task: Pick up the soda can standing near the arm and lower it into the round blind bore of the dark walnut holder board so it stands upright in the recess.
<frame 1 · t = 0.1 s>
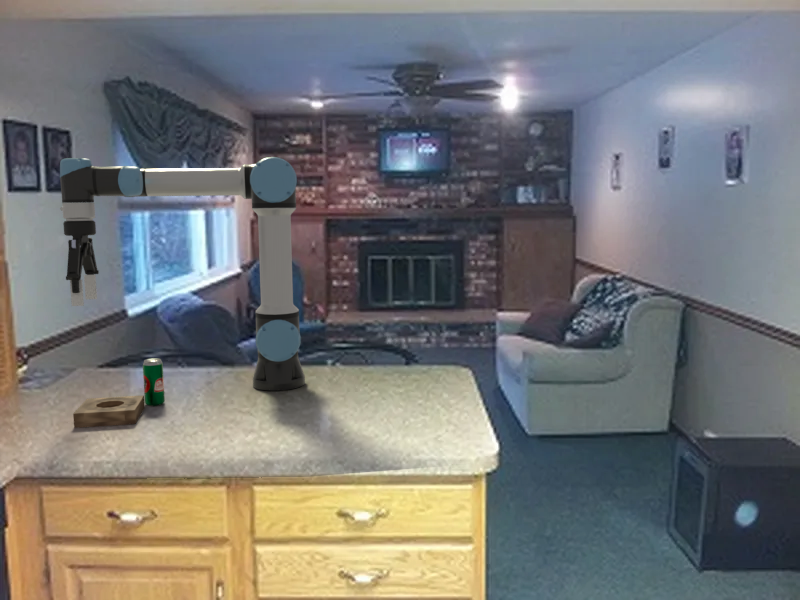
hand: (84, 302, 190), 28 cm above the counter, fingers open, 13 cm apart
board: (111, 417, 183), on the counter
soda can: (155, 404, 196), on the counter
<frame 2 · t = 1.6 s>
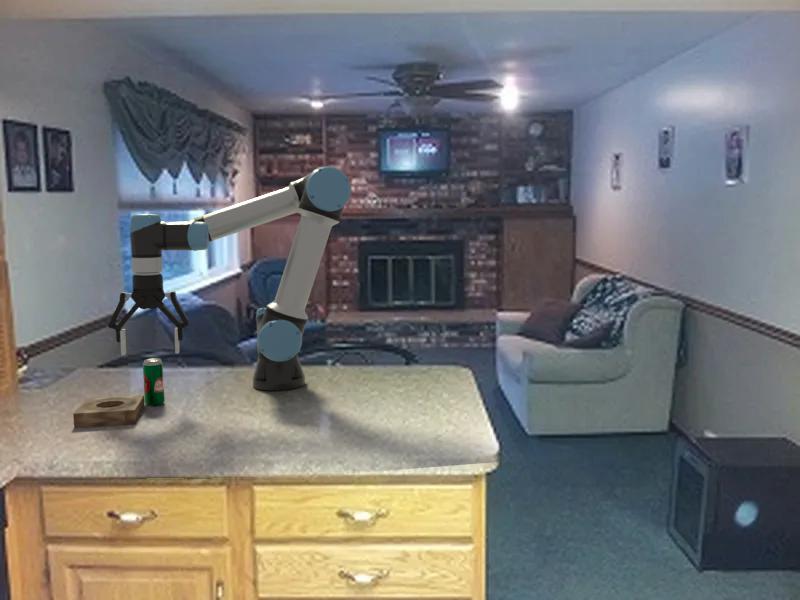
hand: (150, 353, 194), 14 cm above the counter, fingers open, 13 cm apart
nothing on the counter moved.
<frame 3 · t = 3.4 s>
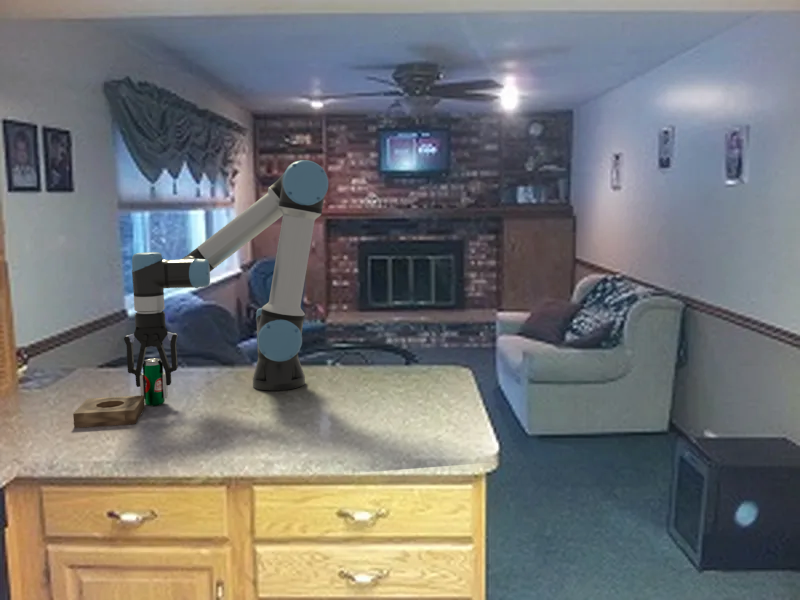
hand: (154, 397, 195), 2 cm above the counter, fingers closed on soda can, 5 cm apart
soda can: (155, 404, 196), on the counter, touching gripper
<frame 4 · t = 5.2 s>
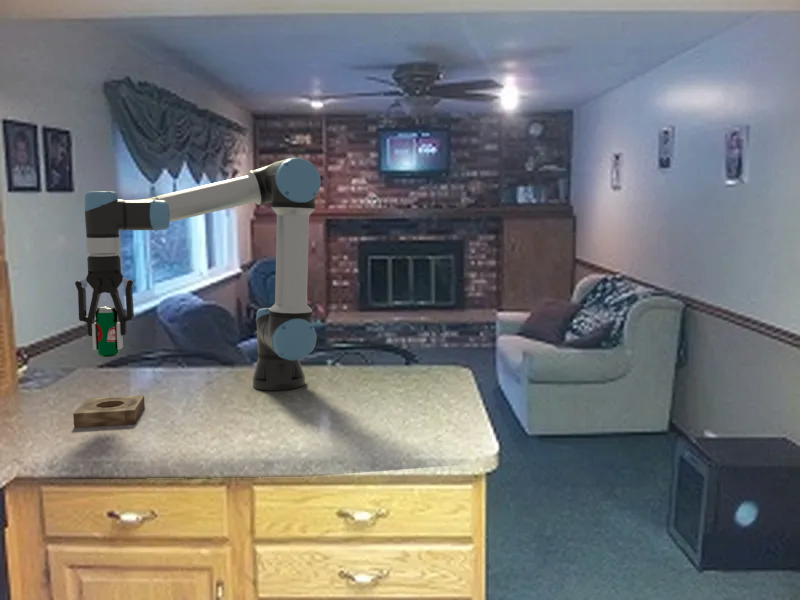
hand: (108, 348, 182), 17 cm above the counter, fingers closed on soda can, 5 cm apart
soda can: (108, 356, 182), point 15 cm above the counter, touching gripper
when the fingers open (4 cm above the counter, at t = 7.1 s): soda can drops 1 cm, resting on board.
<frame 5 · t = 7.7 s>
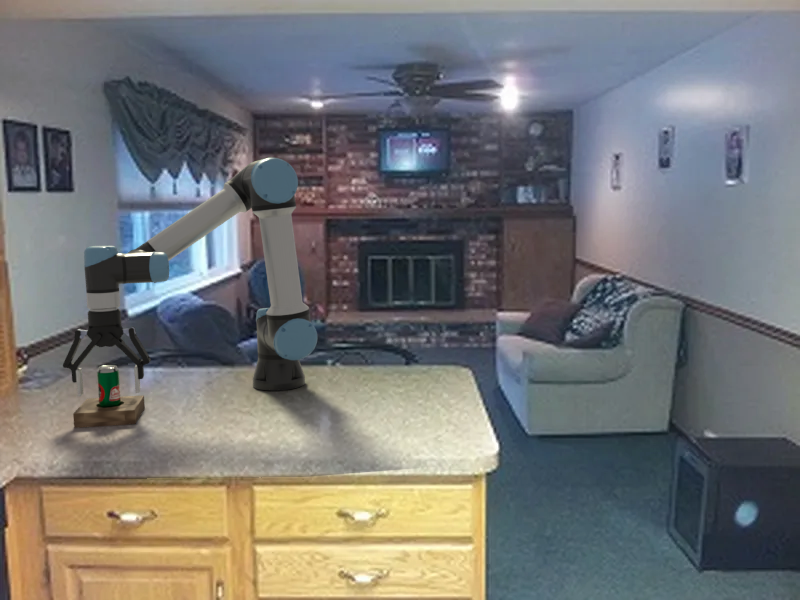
hand: (109, 393, 183), 6 cm above the counter, fingers open, 13 cm apart
soda can: (110, 414, 183), point 1 cm above the counter, touching board
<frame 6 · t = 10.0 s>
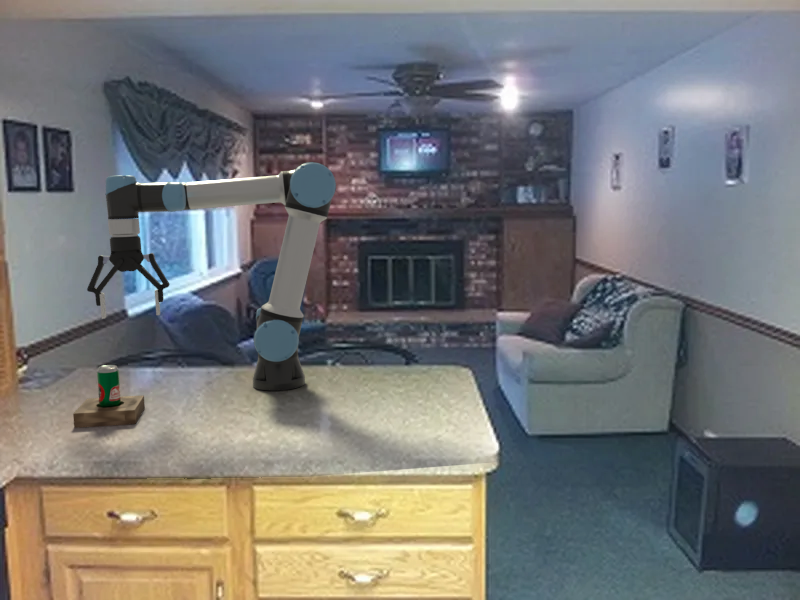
hand: (131, 316, 193), 24 cm above the counter, fingers open, 13 cm apart
nothing on the counter moved.
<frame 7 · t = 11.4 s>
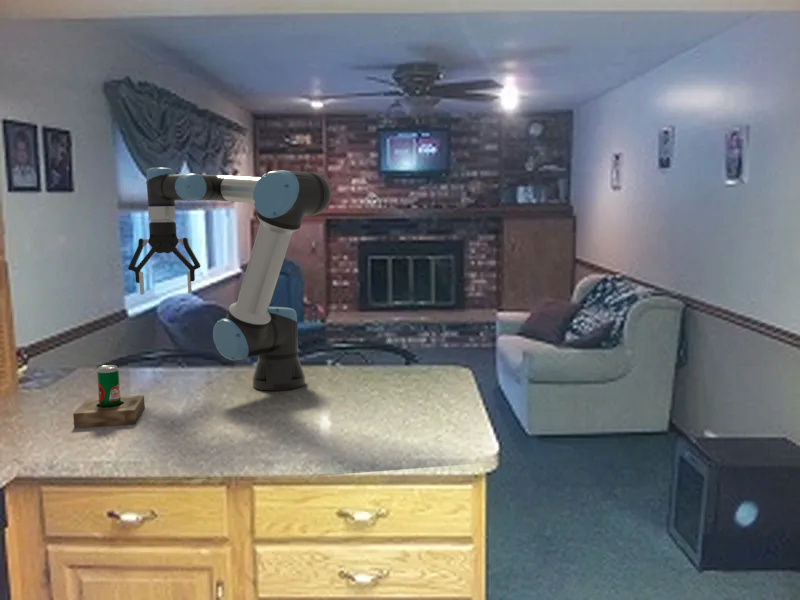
hand: (166, 293, 218), 27 cm above the counter, fingers open, 13 cm apart
nothing on the counter moved.
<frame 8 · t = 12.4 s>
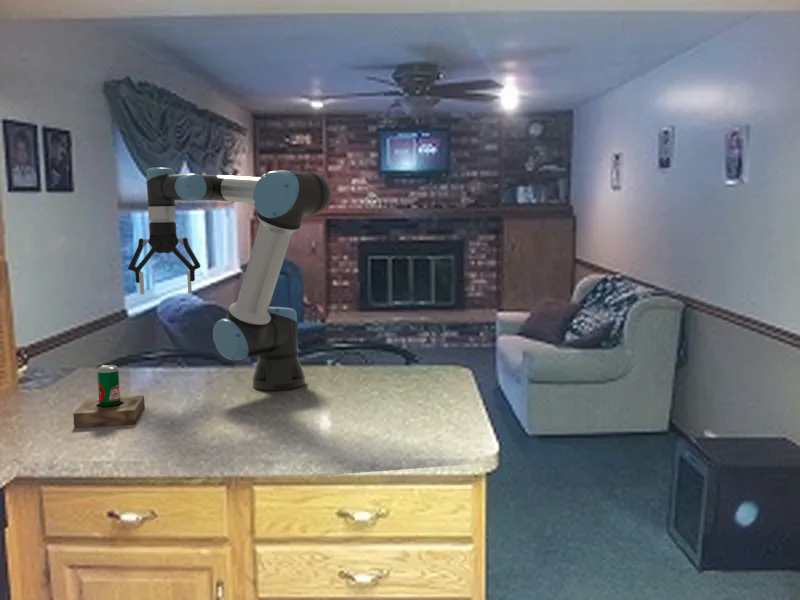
hand: (166, 293, 218), 27 cm above the counter, fingers open, 13 cm apart
nothing on the counter moved.
at the end: soda can 0.1 cm from the board (horizontally); soda can tilted 0°; soda can touching board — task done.
